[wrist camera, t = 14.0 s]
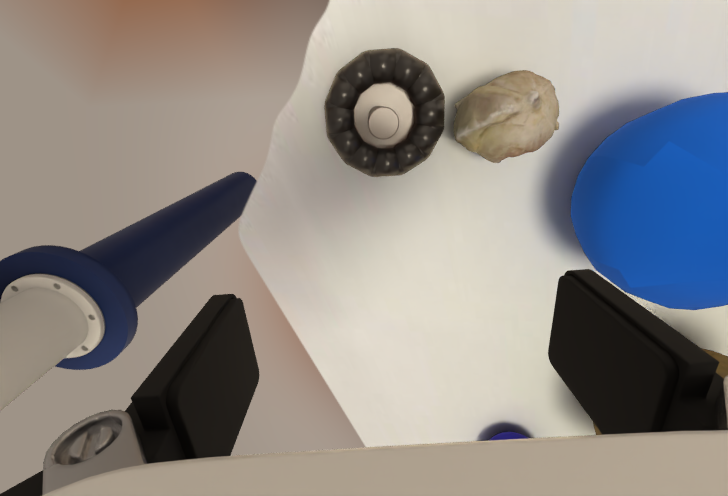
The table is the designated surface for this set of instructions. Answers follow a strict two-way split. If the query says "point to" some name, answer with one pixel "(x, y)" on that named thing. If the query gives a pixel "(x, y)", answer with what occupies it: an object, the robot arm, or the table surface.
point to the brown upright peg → (384, 115)
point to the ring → (358, 79)
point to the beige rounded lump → (507, 116)
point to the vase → (661, 205)
